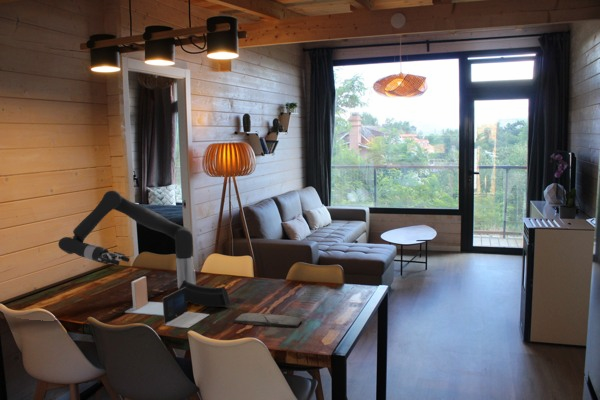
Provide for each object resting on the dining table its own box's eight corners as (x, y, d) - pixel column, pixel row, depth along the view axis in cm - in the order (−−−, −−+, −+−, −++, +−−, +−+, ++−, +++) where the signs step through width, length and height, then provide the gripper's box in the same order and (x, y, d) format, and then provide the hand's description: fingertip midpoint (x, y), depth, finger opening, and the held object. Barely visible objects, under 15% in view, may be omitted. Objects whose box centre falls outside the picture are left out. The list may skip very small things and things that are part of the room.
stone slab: (297, 324, 226) (233, 316, 235) (297, 331, 226) (233, 323, 236) (304, 316, 236) (243, 309, 245) (304, 323, 236) (243, 316, 245)
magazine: (234, 289, 255) (185, 267, 267) (230, 291, 252) (181, 268, 264) (227, 321, 260) (180, 297, 271) (223, 323, 257) (175, 299, 268)
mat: (124, 312, 254) (124, 311, 254) (144, 302, 269) (144, 301, 269) (163, 315, 248) (162, 314, 248) (180, 304, 263) (180, 304, 263)
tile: (133, 310, 256) (131, 282, 254) (145, 303, 266) (143, 276, 264) (136, 310, 256) (134, 282, 254) (148, 303, 265) (146, 276, 263)
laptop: (187, 329, 231) (186, 300, 229) (164, 326, 235) (162, 298, 234) (209, 315, 247) (208, 288, 246) (187, 313, 252) (185, 286, 250)
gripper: (88, 248, 258) (116, 256, 254) (106, 244, 271) (133, 251, 268) (85, 263, 259) (114, 271, 255) (103, 258, 272) (131, 266, 269)
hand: (124, 261), depth 261 cm, fingers open, 8 cm apart
